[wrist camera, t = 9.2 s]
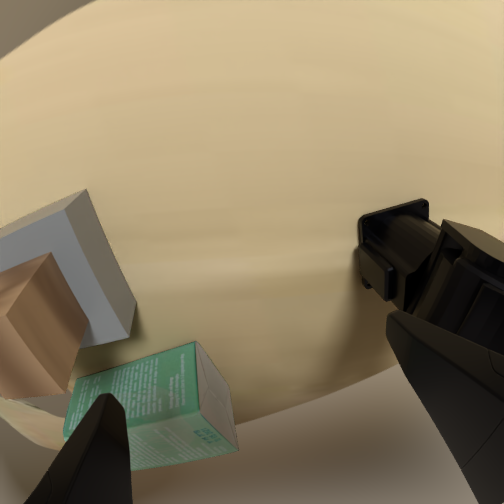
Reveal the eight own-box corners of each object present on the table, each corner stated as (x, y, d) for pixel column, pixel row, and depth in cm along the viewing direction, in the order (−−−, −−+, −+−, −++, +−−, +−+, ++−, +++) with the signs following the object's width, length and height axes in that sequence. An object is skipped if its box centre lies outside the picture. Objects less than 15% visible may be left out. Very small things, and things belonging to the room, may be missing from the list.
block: (51, 251, 15) (5, 315, 10) (89, 320, 17) (65, 393, 12) (-3, 273, 15) (-49, 332, 10) (34, 334, 17) (5, 399, 12)
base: (86, 188, 18) (64, 209, 14) (136, 301, 22) (129, 337, 19) (-7, 231, 17) (-34, 256, 14) (46, 326, 22) (31, 358, 18)
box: (72, 377, 25) (57, 441, 18) (194, 335, 25) (201, 411, 18) (117, 418, 28) (112, 477, 22) (230, 385, 28) (243, 451, 22)
